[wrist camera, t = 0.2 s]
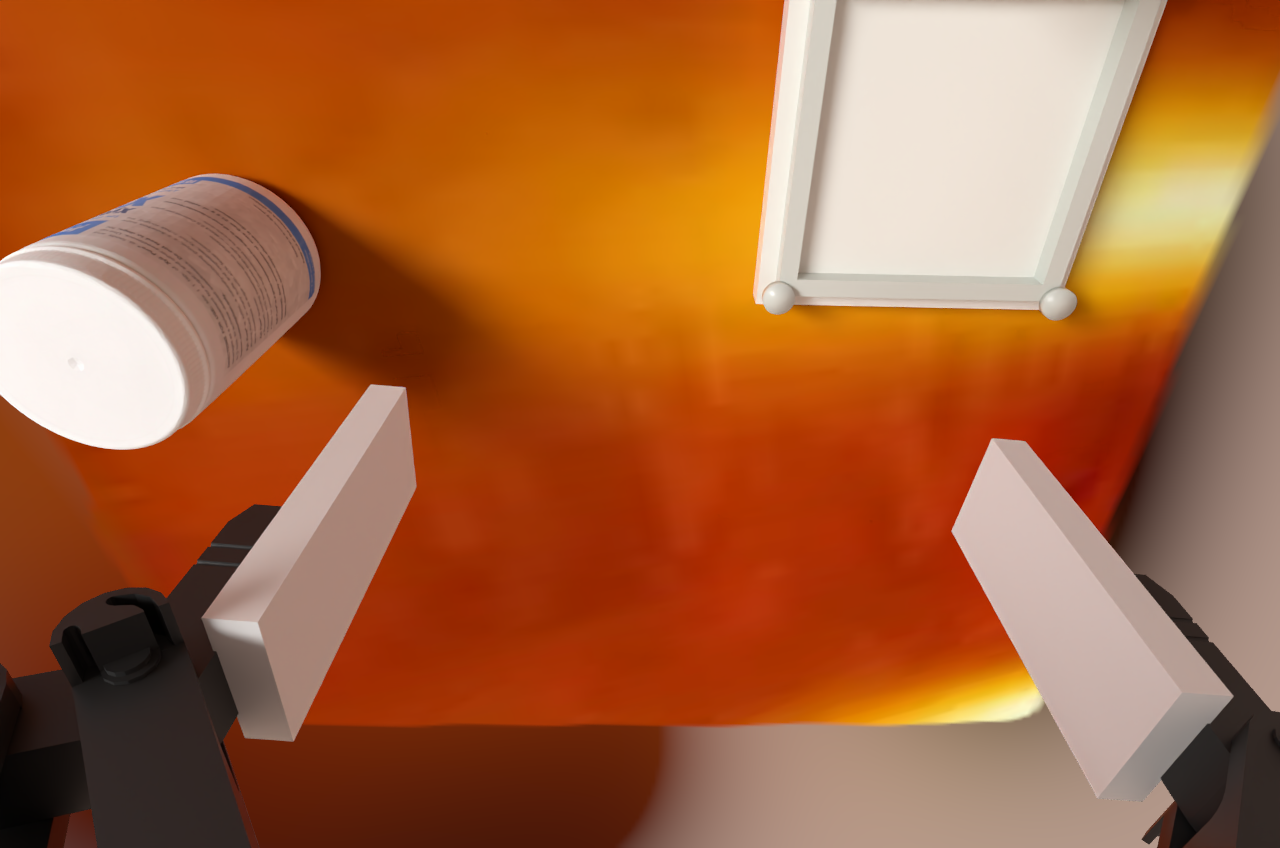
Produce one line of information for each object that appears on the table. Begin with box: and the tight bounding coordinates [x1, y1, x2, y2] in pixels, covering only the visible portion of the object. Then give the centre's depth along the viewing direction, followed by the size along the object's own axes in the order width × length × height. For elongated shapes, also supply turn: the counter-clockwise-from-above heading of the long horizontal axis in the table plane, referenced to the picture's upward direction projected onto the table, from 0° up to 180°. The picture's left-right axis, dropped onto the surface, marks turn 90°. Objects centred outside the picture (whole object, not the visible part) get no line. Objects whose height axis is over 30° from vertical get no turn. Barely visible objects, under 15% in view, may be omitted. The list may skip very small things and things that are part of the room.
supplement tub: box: [0, 174, 321, 450], centre depth 36 cm, size 10×10×15 cm
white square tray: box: [753, 0, 1167, 320], centre depth 36 cm, size 18×18×3 cm
